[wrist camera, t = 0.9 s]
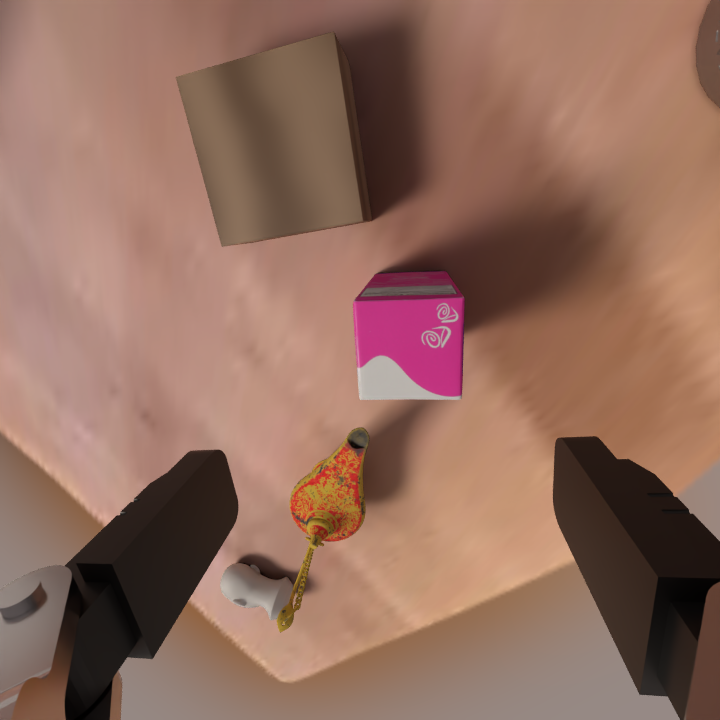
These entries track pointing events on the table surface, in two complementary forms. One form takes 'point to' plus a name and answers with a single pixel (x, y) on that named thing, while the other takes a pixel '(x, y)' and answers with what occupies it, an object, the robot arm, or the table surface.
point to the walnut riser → (279, 141)
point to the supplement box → (409, 337)
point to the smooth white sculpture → (255, 589)
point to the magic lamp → (328, 506)
